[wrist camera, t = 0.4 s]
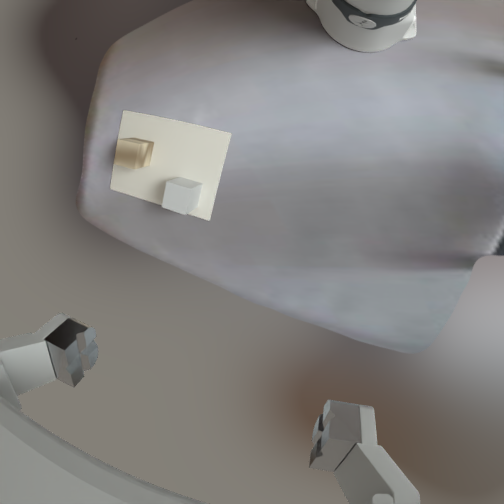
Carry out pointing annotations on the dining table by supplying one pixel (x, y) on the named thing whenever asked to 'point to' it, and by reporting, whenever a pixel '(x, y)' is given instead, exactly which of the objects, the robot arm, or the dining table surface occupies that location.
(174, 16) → the dining table surface
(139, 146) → the birch block
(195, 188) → the grey block
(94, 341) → the robot arm
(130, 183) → the cream flat sheet
